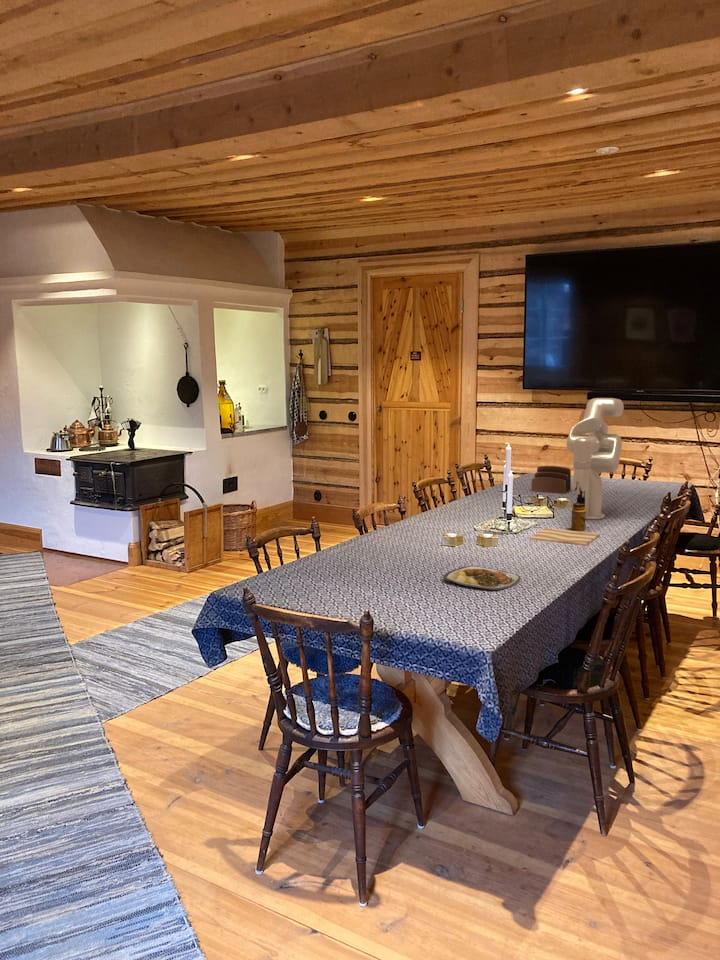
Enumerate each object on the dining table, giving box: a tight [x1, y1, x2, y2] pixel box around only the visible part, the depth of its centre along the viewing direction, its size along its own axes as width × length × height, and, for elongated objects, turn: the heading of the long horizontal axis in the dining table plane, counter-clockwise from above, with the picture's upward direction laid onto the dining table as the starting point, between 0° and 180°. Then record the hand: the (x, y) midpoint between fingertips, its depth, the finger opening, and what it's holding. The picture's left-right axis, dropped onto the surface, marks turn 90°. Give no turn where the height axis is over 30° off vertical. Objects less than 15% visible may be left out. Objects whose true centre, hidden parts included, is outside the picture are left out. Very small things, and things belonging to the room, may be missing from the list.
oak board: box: [529, 527, 601, 547], centre depth 331 cm, size 20×24×1 cm
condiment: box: [564, 502, 588, 532], centre depth 344 cm, size 7×8×12 cm
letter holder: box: [531, 465, 572, 495], centre depth 440 cm, size 10×20×14 cm, turn 58°
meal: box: [442, 565, 522, 591], centre depth 273 cm, size 25×25×3 cm
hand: (580, 506), depth 348 cm, fingers closed
